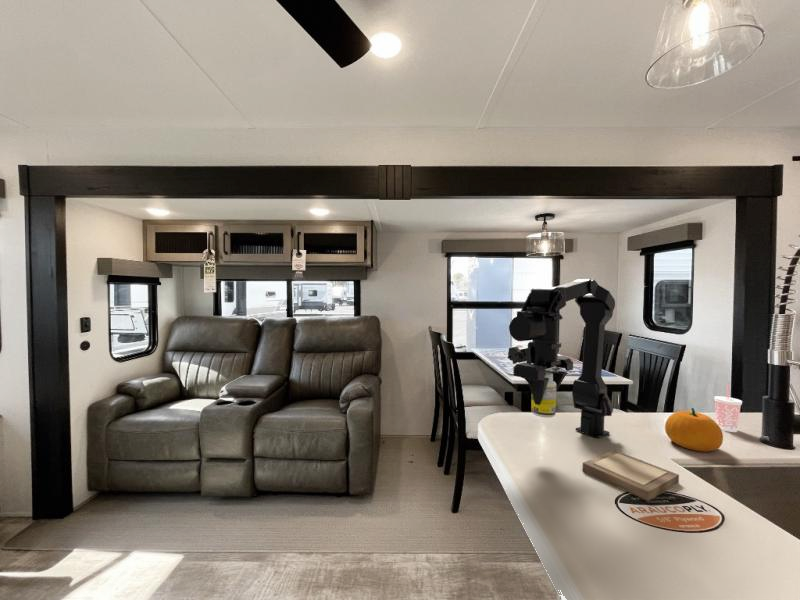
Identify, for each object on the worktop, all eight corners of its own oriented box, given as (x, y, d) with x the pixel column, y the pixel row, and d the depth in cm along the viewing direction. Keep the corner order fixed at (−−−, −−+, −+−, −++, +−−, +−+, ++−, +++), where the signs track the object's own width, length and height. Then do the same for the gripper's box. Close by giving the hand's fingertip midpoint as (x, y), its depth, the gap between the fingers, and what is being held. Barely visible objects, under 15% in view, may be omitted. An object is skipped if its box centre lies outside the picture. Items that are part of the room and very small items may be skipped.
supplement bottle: (529, 409, 88) (530, 369, 88) (552, 411, 87) (553, 371, 87) (532, 417, 83) (534, 374, 83) (558, 419, 82) (559, 376, 81)
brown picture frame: (614, 457, 84) (614, 449, 84) (678, 483, 73) (678, 473, 73) (582, 470, 77) (582, 461, 77) (648, 501, 66) (648, 490, 66)
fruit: (658, 443, 93) (659, 406, 92) (671, 433, 100) (673, 398, 100) (716, 461, 83) (718, 419, 83) (727, 448, 90) (728, 410, 90)
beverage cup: (711, 428, 104) (713, 381, 104) (714, 423, 108) (715, 378, 108) (740, 434, 99) (742, 386, 99) (741, 429, 104) (743, 382, 103)
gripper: (533, 332, 97) (532, 388, 97) (494, 337, 85) (493, 401, 85) (574, 337, 88) (573, 398, 89) (537, 343, 76) (536, 413, 76)
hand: (543, 402), depth 85 cm, fingers closed on supplement bottle, 5 cm apart
